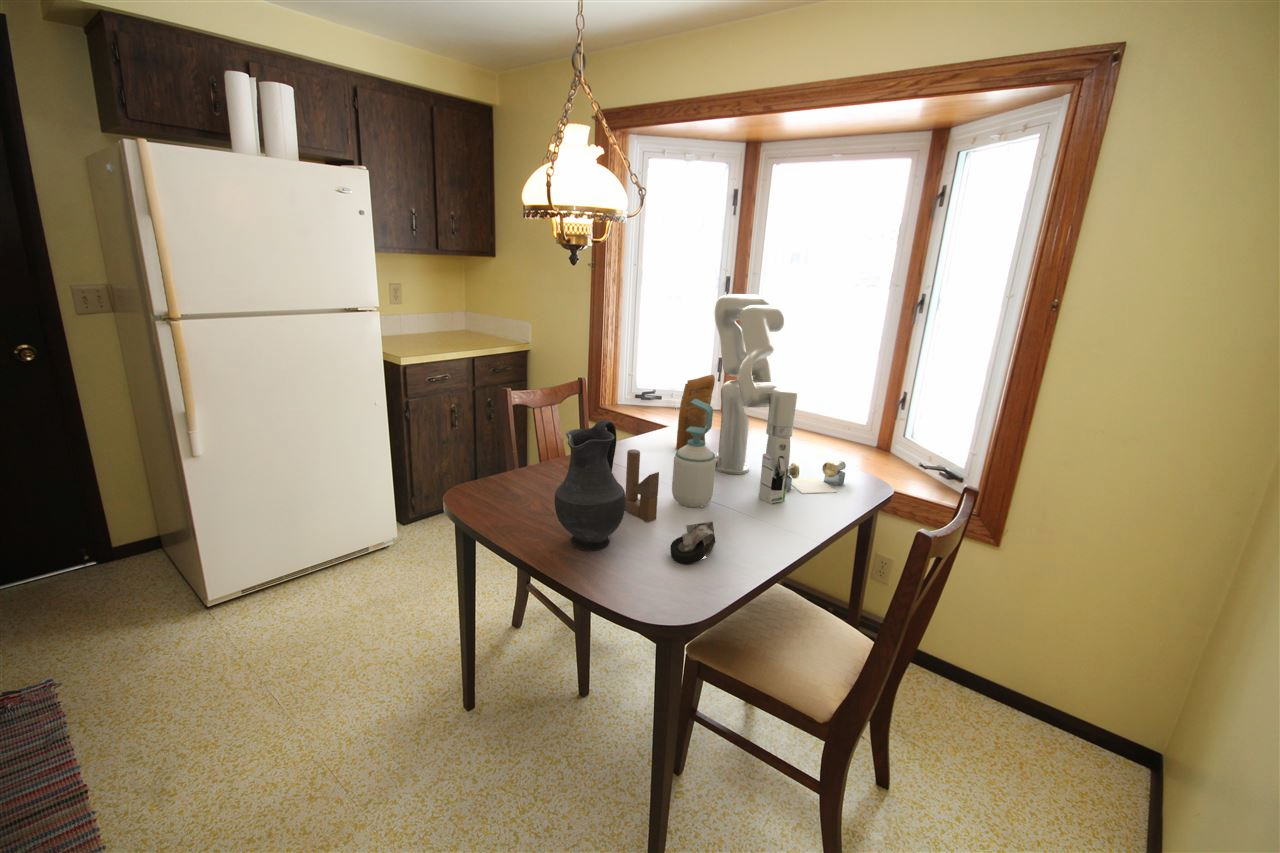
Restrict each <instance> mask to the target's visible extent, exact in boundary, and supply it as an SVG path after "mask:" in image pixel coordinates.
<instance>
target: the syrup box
mask: <svg viewBox="0 0 1280 853" xmlns="http://www.w3.org/2000/svg"><path fill="white" fill-rule="evenodd" d="M776 468H779V466H778V465H776ZM773 472H774V469H773V468H772V467H771V464H770V456H769V455H768V454H766V453H763V454H762V458H761V471H760V479H759V480H760V482H759V491H758V497H759V499H761V500H762V501H765V503H768V504H770V505H771V504H775V503H780V502H785V500H786V492H787V490H786V484H787V475H788V469H787V470H786V469H785V472H784V478H783V485H782V490H781V491H776V490H771V484H772V477H774V475H773ZM777 472H779V470H776V473H777Z"/></svg>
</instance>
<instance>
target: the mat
mask: <svg viewBox="0 0 1280 853" xmlns="http://www.w3.org/2000/svg"><path fill="white" fill-rule="evenodd" d="M791 487H794V489H796V490H797V491H798V492H799V493H800V494H802V495H804V494H805V495H806V494H833V493H835V494H836V493H837V491H836V490H835V489H834V488H832V487H831V486H830V485H828V484H827V482H824V480H821V478H819V477H805V478H804V477H803V478H800V477H798V478H797V479H793V478H792V482H791Z"/></svg>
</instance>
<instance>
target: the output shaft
mask: <svg viewBox="0 0 1280 853" xmlns="http://www.w3.org/2000/svg"><path fill="white" fill-rule="evenodd" d="M846 467H847V466H846V462H845V461H843V460H838V461H836V462H831V461H828V462H825V463H824V464H823V465H822V468H821V469H822V473H823V475H824V478H823V482H824V483H826V484H827V483H828V484H830V485H833V486H836V487H839V486H841V484H842V485H844V484H843V483H845V479H846V478H845V477H846V472H845V471H843V470H845V468H846Z"/></svg>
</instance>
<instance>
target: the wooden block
mask: <svg viewBox="0 0 1280 853" xmlns="http://www.w3.org/2000/svg"><path fill="white" fill-rule="evenodd" d="M626 454H627V455H626V476H625V498H626V504H625V513H628V514H630V515H632V516H634V517H636V518H638V519H640V520H641V521H643V522H645V523H651V522H653V521H656V520H657V513H658V512H657V510H658V499H659V498H658V495H659V494H658V493H659V482H660V481H659V480H660V479H659V478H660V472H659V471H657V472H655V473H651V474H648V475H647V476H646V477H645V478H644V479H643V480H642V481H641V482H640V467H641V466H640V462H641V461H640V460H641V451H640V450H639V449H628V450H627V452H626ZM639 495H640V496H639Z"/></svg>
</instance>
